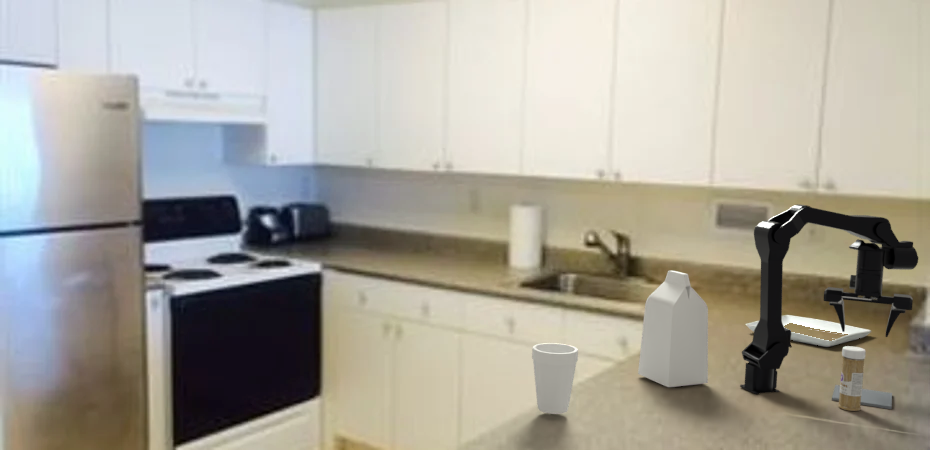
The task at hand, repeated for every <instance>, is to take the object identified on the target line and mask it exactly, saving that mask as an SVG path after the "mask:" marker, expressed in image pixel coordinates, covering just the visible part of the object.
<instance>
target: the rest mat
mask: <svg viewBox="0 0 930 450" xmlns="http://www.w3.org/2000/svg"><path fill="white" fill-rule="evenodd" d="M839 397H840V384H835V385H834V389H833V391H832V396H831V401H835V402H839ZM892 404H893V392H889V391H888V392H886V391H881V390H880V391H879V390H873V389H867V388H862V395H861V403H860V406H868V407H873V408H882V409H889V410H892V409H893V408H892V406H893V405H892Z"/></svg>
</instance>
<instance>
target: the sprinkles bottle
mask: <svg viewBox="0 0 930 450" xmlns="http://www.w3.org/2000/svg"><path fill="white" fill-rule="evenodd" d="M866 352H867V351H866V349H865V348H862V347H859V346H852V345H851V346H849V345H847V346H846V345H845V346H843V347H842V350H841V356H842V364H841V365H842V366H841V373H840V374H841V375H840V383H839V385H840V397H839V401H838V408H840V409H842V410H844V411H849V412H858V411H861V405H860V403H861V395H862V389H863V380H864V365H865V359H866Z"/></svg>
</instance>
